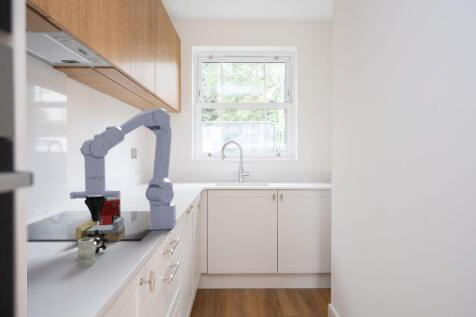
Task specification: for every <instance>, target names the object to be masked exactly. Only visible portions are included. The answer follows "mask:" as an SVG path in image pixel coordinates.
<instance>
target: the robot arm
mask: <svg viewBox="0 0 476 317" xmlns="http://www.w3.org/2000/svg"><path fill="white" fill-rule="evenodd" d="M141 126H143V127H145V128H147V129H148V130H149V131H151V132H153V134H154V135H155V137H156V139H155V140H156V141H155V150H154V159H153V160H154V163H153V172H152V178H151V179H150V180H149V182H148V186H147V188H146V191H145V198H146V199H147V201H148V204H149V216H150V217H149V220H150V222H149V223H150V224H149V226H148V227H147V230H148V231H149V230H151V231H152V230H174V229H175V227H176V226H177V206H176V203H173V202H172V201H173V200H174V196H175V195H174V194H175V192H174V189H173V185H174V184H173V182H172V181H171V180H170V179H169V173H170V172H169V169H170V161H171V160H170V159H171V158H170V157H171V146H172V129H171V115H170V114H169V113H168V111H167V110H166V109H165V108H162V107H158V108H154V109H145V110H142V111H140V112H139V113H136V114H135V115H134V116H132V117H130V119H128V120H126V122H124V123H123V124H121V125H119V126H115V125H112V126H111V125H109V126H107V127H105V130H104V131H103V132H101V133H98V134H94V135H93V139H92V138H90V139H87V140H84V142H83V143H82V145H81V147H80V149H79V150H80V153H81V154H82V156H83V158H84V182H85V183H84V187H85V188H84V191H83V190H82V191H72V192H69V199H71V200H74V199H85V200H84V204H85V205H86V207H87V209H88V210H89V213H90V217H91V216H92V219H93V222H97V223H99V220H100V216H101V212H102V209H103V206H104V204H105V202H106V200H107V198H111V197H115V198H119V197H120V198H121V193H122V192H121V190H106V188H107V187H106V161H105V160H106V158H105V157H106V156H107V155H108V154H109V152H110V150H111V149H112V148H114V147H116V146H117V145H119V144H121V143H123V141H124V140H125V136H126V135H127V134H129V133H131V132H132V131H134V130H137V129H138V128H140V127H141Z"/></svg>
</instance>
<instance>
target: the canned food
mask: <svg viewBox="0 0 476 317" xmlns="http://www.w3.org/2000/svg"><path fill="white" fill-rule="evenodd" d="M121 209H122V208H121V197H119V198H115V197H111V198H107V200H106V202H105V204H104V206H103V209H102V212H101V216H100V220H99V221H98V225H113V221H115V220H116V219H118V218H122V212H121Z"/></svg>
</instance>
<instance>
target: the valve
mask: <svg viewBox="0 0 476 317" xmlns="http://www.w3.org/2000/svg"><path fill="white" fill-rule="evenodd" d="M94 233H95V234H92V233H88V234H87V237H89V238H83V239H80V240H79V241H77V247H78V249H77V251H76V253H77V258H78V261H77V262H78V267H80V268H89V267H91V266H93V265H94V264H95V262H96V261H95V260H96V259H95V255H96V254H99V253H100V251H101V250H100V249H102V250H103V251H105V250H106V249H107V248H108V247H107V245H106V244H108V243H109V239H108V238H107V239H105V237H104V236H105V235H106V232H103V233H102V234H99V230H95V231H94ZM94 236H100V237H101V239H98V238H96V239H94V238H92V237H94ZM101 240H103V242H100V241H101ZM100 243H102V244H101V245H100Z"/></svg>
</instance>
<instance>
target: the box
mask: <svg viewBox="0 0 476 317" xmlns="http://www.w3.org/2000/svg"><path fill="white" fill-rule="evenodd" d="M99 234H102V233H99ZM124 235H126V227H125V228H123V229H122V230H121V231H120V232H119V233H106V235H105V236H104V237H105V239H107V238H108V239H109V242H120V241H121V240H122V239H123V238H124V237H125V236H124ZM123 236H124V237H123ZM122 237H123V238H122ZM86 238H89V237H87V234H86ZM92 238H94V239H96V238H98V239H101V237H100V236H94V237H92ZM109 242H108V243H109ZM100 243H103V240H101V241H100Z"/></svg>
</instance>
